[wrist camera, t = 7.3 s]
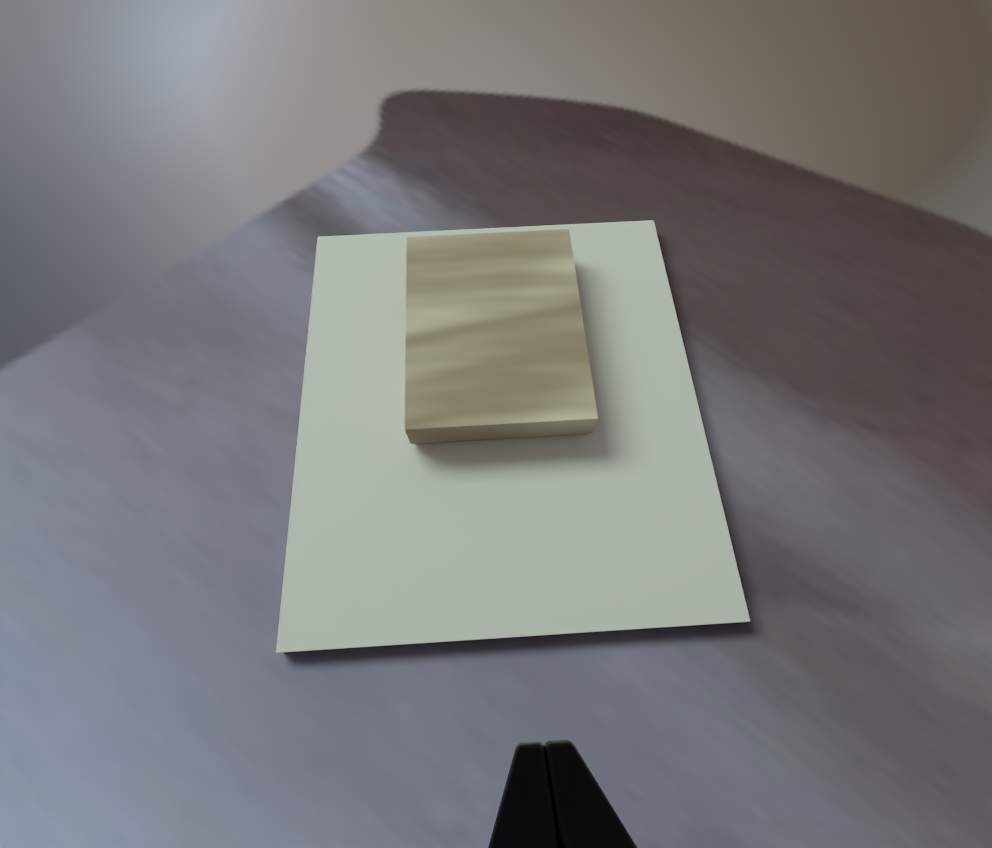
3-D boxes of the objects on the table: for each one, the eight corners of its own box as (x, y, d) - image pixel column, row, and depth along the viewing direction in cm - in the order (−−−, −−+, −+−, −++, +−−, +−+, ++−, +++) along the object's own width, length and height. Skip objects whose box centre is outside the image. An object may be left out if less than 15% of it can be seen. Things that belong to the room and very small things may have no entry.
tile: (598, 418, 19) (569, 228, 22) (404, 429, 19) (406, 236, 22) (590, 436, 20) (564, 256, 24) (411, 446, 20) (412, 264, 24)
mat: (742, 622, 18) (750, 621, 18) (282, 652, 18) (276, 652, 17) (650, 229, 25) (653, 220, 25) (321, 245, 25) (317, 236, 24)
